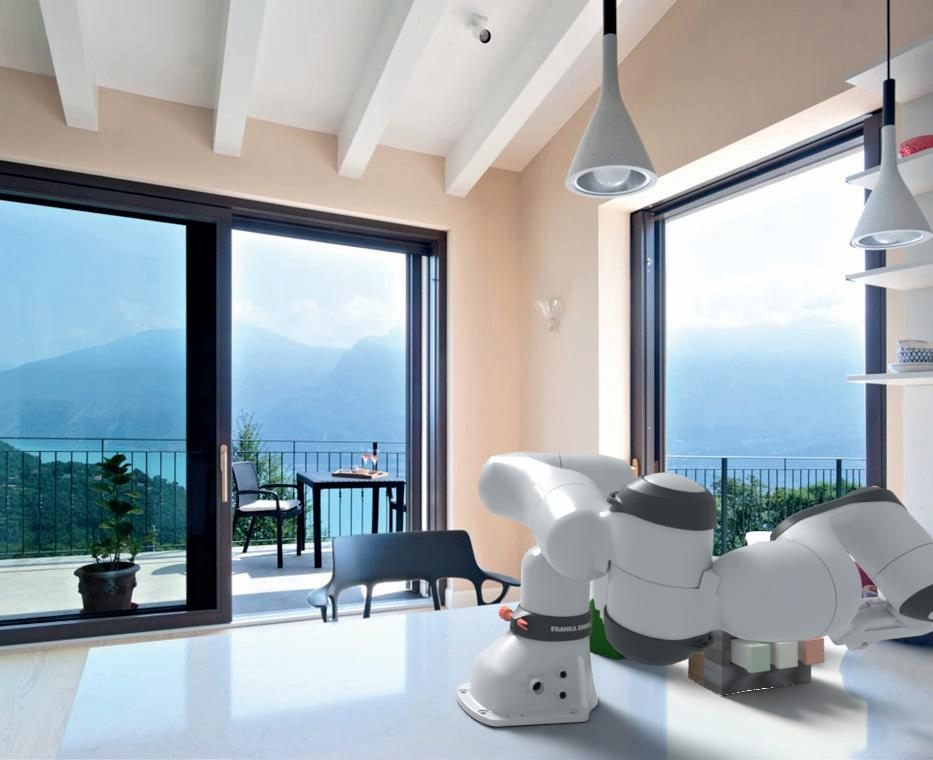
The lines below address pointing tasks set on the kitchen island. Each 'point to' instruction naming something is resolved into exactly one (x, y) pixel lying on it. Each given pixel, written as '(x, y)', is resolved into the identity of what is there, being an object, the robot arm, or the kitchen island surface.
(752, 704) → the kitchen island surface
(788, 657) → the cream button
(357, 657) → the kitchen island surface
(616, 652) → the milk carton
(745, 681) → the console
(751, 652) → the sage button
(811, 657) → the coral button
